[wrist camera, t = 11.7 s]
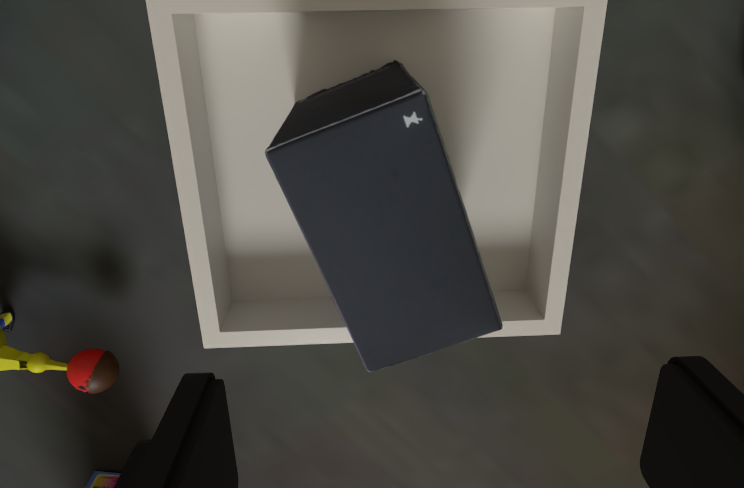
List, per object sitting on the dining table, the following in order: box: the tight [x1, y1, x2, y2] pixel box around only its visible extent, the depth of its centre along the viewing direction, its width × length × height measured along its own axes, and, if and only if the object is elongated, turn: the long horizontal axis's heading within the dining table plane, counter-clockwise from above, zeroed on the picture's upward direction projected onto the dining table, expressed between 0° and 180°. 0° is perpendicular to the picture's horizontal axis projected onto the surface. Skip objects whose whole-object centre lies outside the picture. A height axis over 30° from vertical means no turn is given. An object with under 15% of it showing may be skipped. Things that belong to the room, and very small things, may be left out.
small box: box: [265, 60, 503, 372], centre depth 25 cm, size 11×6×10 cm, turn 21°
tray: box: [146, 0, 608, 348], centre depth 28 cm, size 20×18×4 cm
